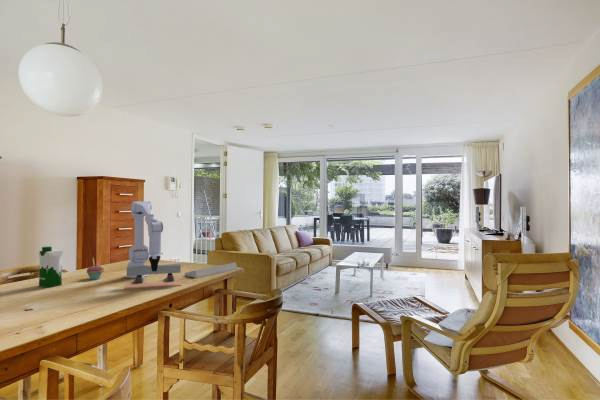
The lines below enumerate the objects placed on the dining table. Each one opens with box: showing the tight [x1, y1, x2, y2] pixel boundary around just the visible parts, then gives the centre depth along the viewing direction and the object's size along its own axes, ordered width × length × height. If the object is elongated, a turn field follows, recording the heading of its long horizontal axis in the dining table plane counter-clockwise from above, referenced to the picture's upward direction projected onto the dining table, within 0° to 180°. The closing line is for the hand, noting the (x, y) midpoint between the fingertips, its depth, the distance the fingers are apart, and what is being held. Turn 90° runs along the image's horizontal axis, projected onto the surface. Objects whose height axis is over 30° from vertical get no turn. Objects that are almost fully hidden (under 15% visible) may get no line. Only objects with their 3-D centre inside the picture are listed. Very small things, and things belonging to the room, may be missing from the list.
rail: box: [126, 263, 182, 276], centre depth 184 cm, size 26×4×4 cm, turn 111°
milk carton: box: [38, 246, 64, 289], centre depth 179 cm, size 9×9×20 cm
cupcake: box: [86, 257, 105, 280], centre depth 197 cm, size 9×8×12 cm
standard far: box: [165, 273, 175, 282], centre depth 197 cm, size 4×11×5 cm, turn 21°
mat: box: [124, 280, 182, 290], centre depth 184 cm, size 27×9×1 cm, turn 111°
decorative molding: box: [184, 262, 238, 279], centre depth 220 cm, size 34×5×10 cm
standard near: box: [133, 275, 145, 284], centre depth 191 cm, size 4×11×5 cm, turn 21°
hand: (154, 270), depth 184 cm, fingers closed on rail, 4 cm apart
